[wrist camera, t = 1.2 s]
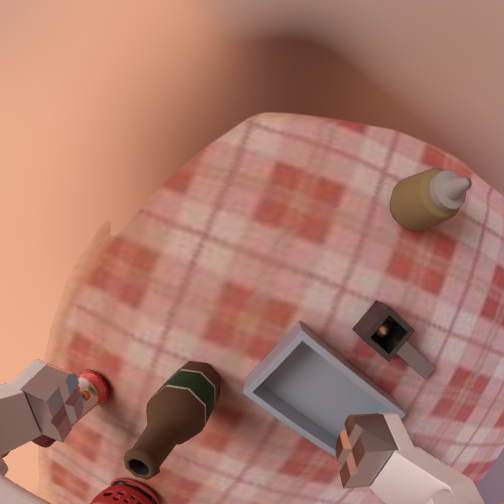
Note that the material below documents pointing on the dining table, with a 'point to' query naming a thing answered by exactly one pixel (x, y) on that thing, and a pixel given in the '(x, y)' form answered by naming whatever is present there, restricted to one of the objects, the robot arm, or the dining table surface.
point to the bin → (314, 388)
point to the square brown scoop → (392, 337)
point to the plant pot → (126, 493)
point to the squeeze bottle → (428, 198)
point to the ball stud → (382, 330)
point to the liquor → (92, 394)
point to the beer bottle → (174, 416)
